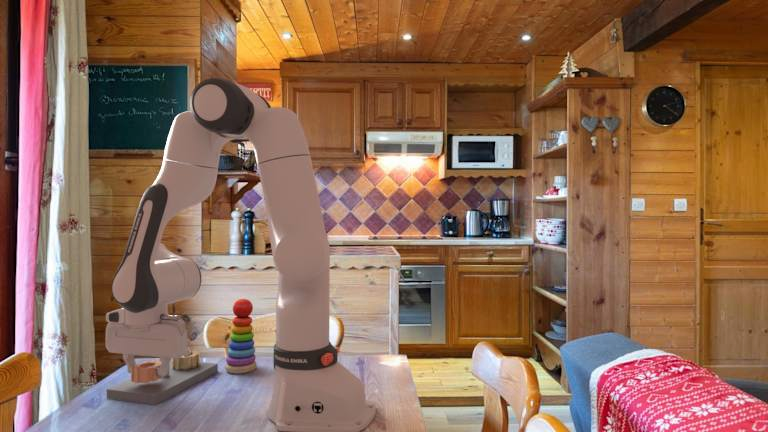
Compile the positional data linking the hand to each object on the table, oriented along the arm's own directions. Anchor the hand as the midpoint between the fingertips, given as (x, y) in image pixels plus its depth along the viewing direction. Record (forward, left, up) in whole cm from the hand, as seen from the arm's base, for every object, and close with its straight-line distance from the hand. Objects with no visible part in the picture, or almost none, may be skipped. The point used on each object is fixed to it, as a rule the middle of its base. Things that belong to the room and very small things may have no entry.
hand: (147, 373), depth 105 cm
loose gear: (0, 0, -1) cm, 1 cm away
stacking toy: (-11, -21, -5) cm, 24 cm away
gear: (+1, -14, -3) cm, 14 cm away
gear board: (+1, -7, -5) cm, 8 cm away
